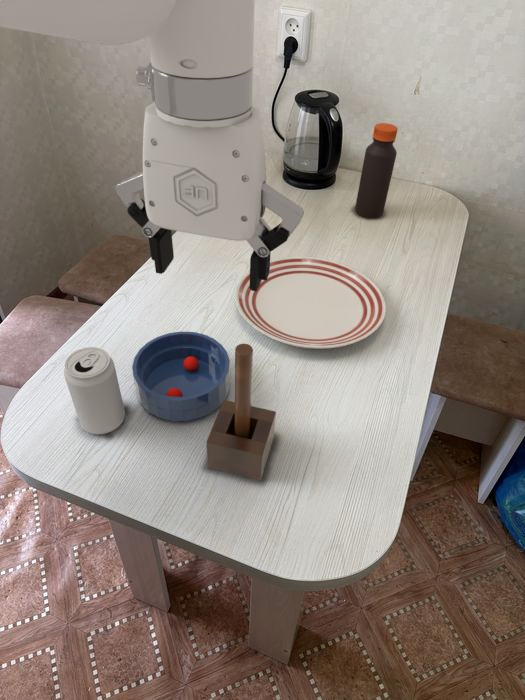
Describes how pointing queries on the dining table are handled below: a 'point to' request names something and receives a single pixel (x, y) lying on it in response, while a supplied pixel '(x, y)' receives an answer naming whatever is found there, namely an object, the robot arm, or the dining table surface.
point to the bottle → (377, 172)
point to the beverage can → (94, 390)
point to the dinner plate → (312, 303)
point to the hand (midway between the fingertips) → (210, 274)
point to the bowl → (181, 375)
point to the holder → (240, 442)
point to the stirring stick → (243, 389)
